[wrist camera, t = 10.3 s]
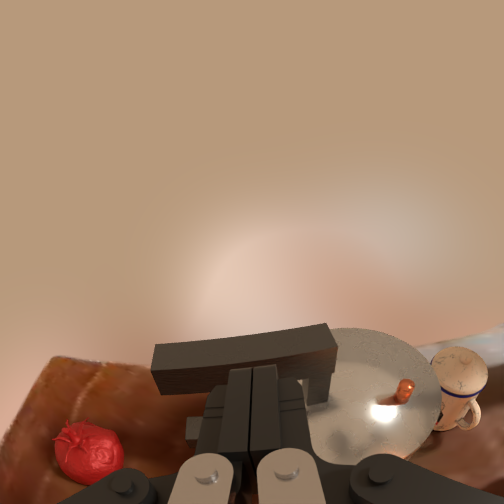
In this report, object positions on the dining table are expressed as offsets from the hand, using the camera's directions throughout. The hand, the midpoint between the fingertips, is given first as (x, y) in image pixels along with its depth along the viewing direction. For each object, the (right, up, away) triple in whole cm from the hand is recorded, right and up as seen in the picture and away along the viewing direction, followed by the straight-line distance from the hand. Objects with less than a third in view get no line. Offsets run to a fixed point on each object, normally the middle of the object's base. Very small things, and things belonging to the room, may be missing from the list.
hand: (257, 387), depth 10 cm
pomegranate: (-21, -25, +21) cm, 39 cm away
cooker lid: (+6, -10, +17) cm, 21 cm away
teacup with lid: (+28, -19, +23) cm, 41 cm away
